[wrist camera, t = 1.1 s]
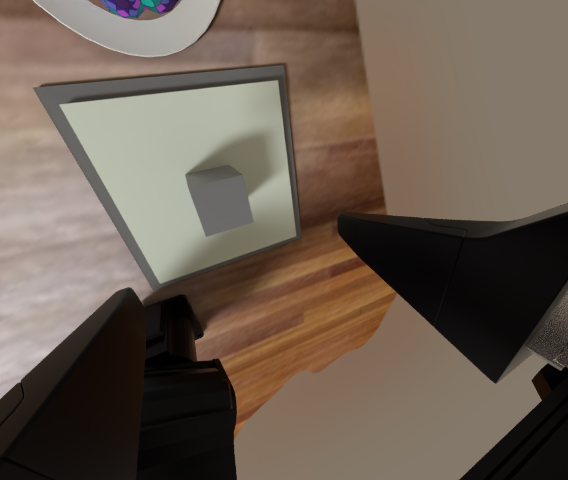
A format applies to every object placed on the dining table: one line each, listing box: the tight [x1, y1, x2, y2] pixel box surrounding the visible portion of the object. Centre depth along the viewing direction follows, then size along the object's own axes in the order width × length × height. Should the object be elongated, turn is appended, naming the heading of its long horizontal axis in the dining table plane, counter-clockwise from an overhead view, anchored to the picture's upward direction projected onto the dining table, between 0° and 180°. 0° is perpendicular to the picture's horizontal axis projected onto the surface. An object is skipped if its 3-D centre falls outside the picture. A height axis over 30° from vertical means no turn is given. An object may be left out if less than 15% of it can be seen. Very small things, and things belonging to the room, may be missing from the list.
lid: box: [60, 80, 296, 284], centre depth 17 cm, size 14×14×5 cm
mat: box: [33, 65, 302, 291], centre depth 19 cm, size 16×16×1 cm
